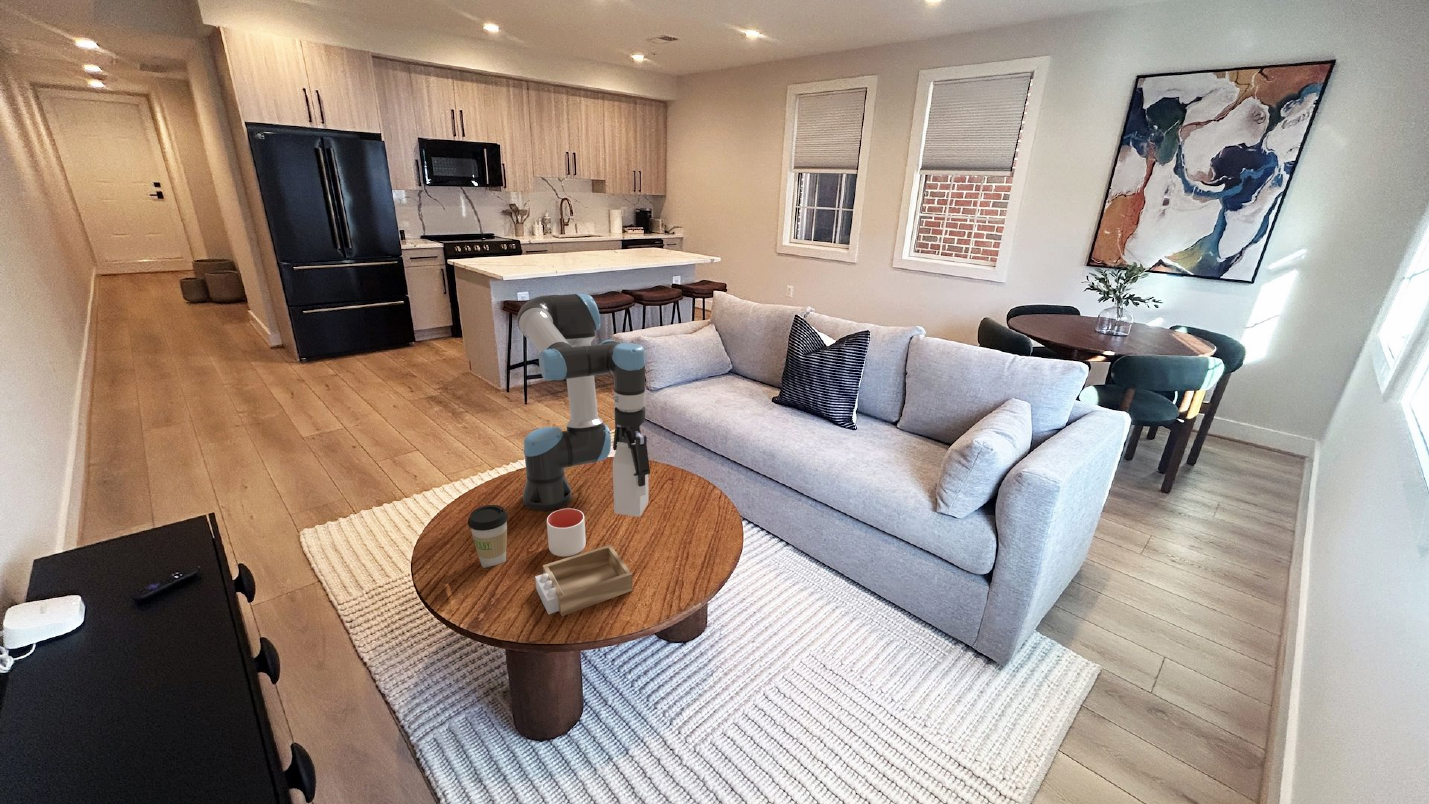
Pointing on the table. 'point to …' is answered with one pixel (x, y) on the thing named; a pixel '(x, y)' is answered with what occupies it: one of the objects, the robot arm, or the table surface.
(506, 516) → the coffee cup
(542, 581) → the egg box
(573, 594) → the crate
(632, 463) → the milk carton
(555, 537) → the cup
